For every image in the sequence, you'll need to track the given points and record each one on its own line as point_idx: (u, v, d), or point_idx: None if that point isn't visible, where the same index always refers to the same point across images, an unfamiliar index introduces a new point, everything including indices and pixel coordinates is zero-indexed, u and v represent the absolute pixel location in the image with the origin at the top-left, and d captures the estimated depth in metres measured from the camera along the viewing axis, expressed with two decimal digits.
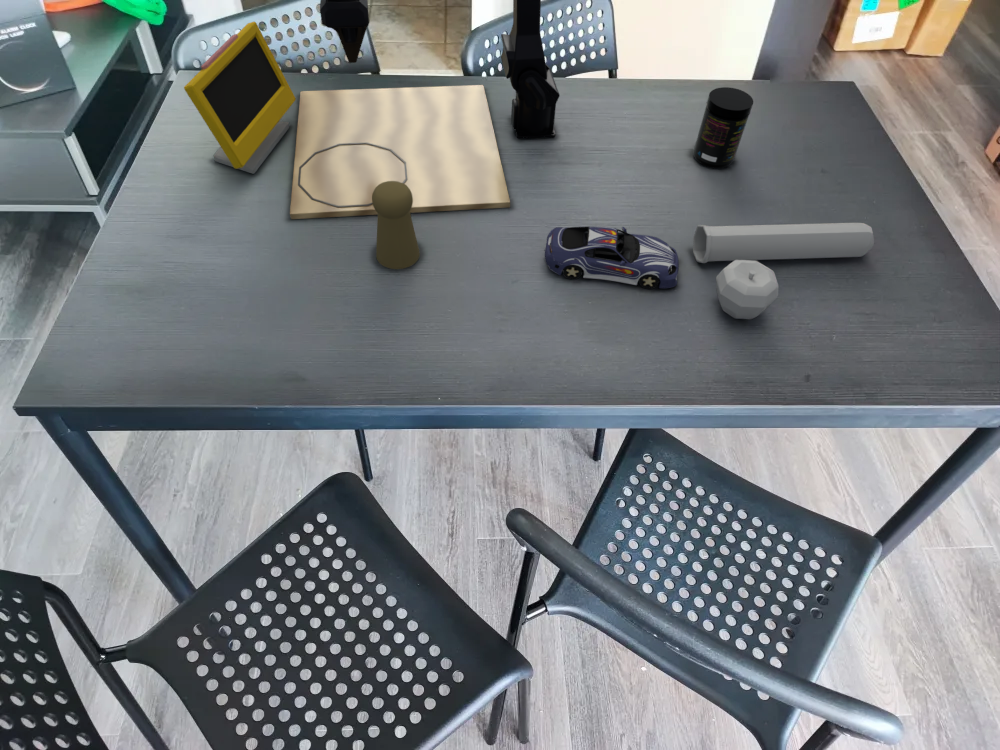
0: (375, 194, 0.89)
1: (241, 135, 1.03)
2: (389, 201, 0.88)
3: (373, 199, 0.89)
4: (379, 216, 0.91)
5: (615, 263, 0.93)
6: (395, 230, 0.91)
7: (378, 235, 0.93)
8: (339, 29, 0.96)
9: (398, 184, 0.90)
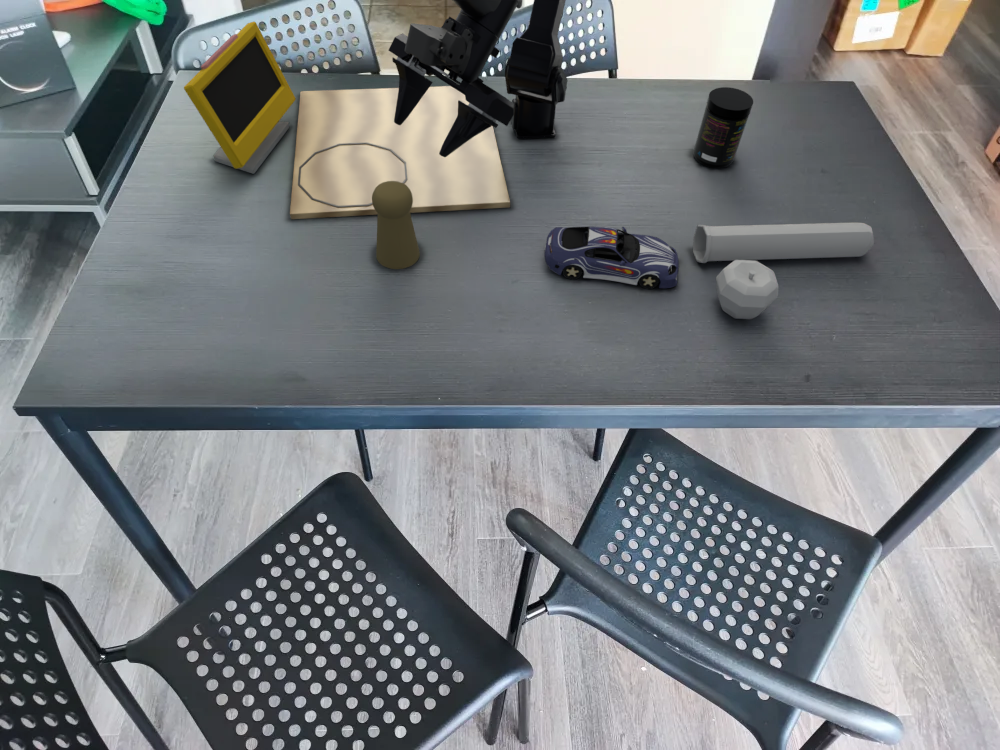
0: (375, 194, 0.89)
1: (241, 135, 1.03)
2: (389, 201, 0.88)
3: (373, 199, 0.89)
4: (379, 216, 0.91)
5: (615, 263, 0.93)
6: (395, 230, 0.91)
7: (378, 235, 0.93)
8: (468, 120, 0.87)
9: (398, 184, 0.90)
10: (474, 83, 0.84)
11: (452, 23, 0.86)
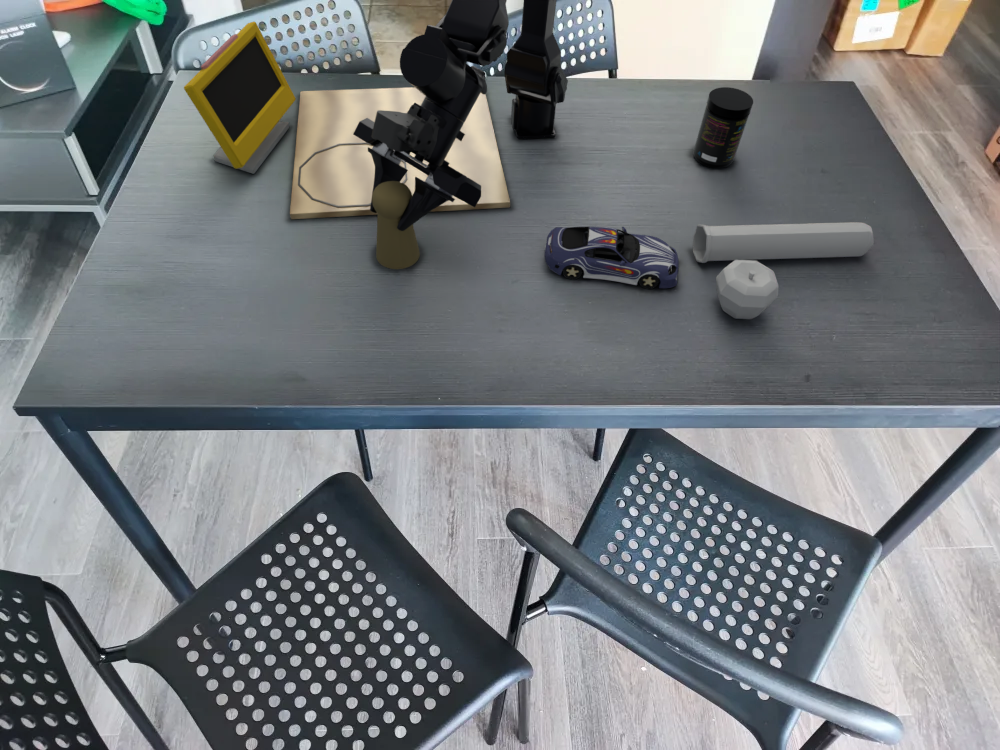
0: (375, 194, 0.89)
1: (241, 135, 1.03)
2: (388, 201, 0.88)
3: (373, 199, 0.89)
4: (379, 216, 0.91)
5: (615, 263, 0.93)
6: (395, 230, 0.91)
7: (378, 235, 0.93)
8: (425, 195, 0.88)
9: (398, 184, 0.90)
10: (442, 167, 0.85)
11: (418, 109, 0.86)
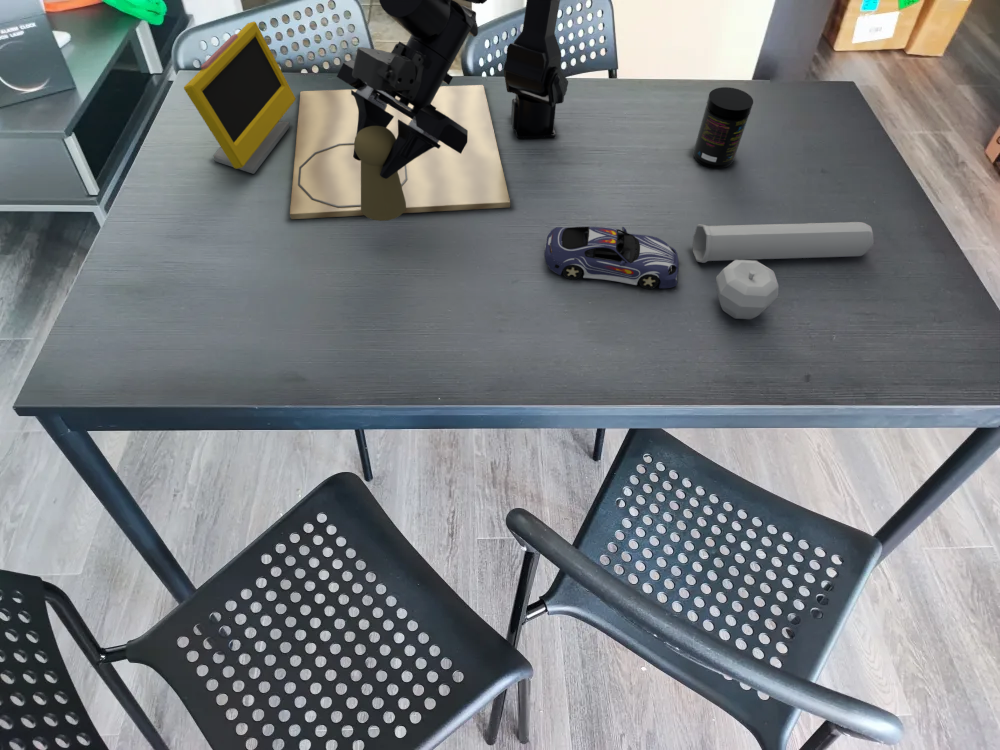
0: (357, 138, 0.85)
1: (241, 135, 1.03)
2: (370, 146, 0.84)
3: (355, 144, 0.85)
4: (362, 163, 0.87)
5: (615, 263, 0.93)
6: (378, 178, 0.87)
7: (361, 184, 0.90)
8: (408, 140, 0.84)
9: (381, 128, 0.86)
10: (425, 109, 0.81)
11: (402, 48, 0.82)
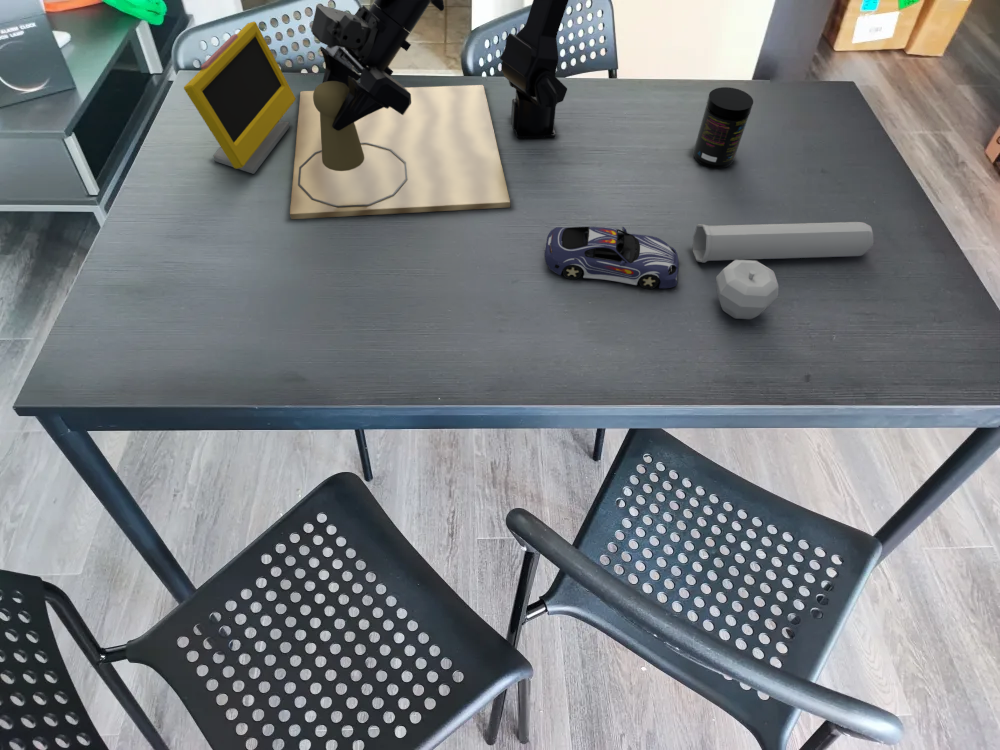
0: (315, 90, 0.93)
1: (241, 135, 1.03)
2: (323, 97, 0.92)
3: (313, 95, 0.93)
4: (320, 114, 0.95)
5: (615, 263, 0.93)
6: (332, 129, 0.95)
7: (321, 134, 0.98)
8: (357, 96, 0.91)
9: (339, 84, 0.93)
10: (370, 68, 0.87)
11: (363, 11, 0.89)
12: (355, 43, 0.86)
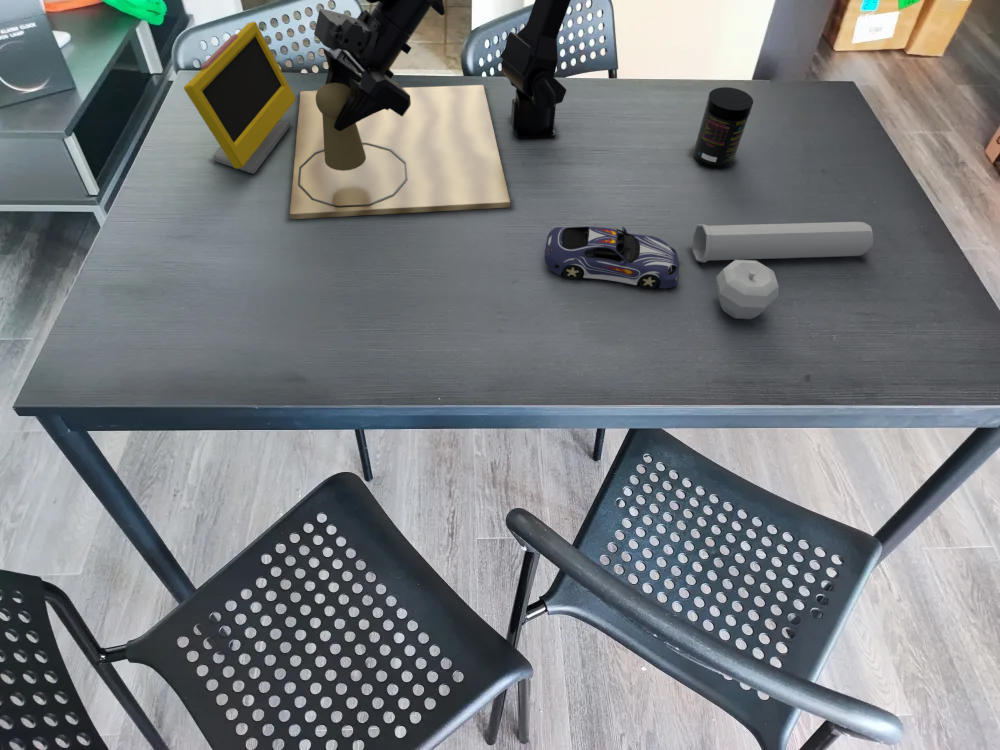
0: (318, 91, 0.95)
1: (241, 135, 1.03)
2: (325, 99, 0.94)
3: (316, 96, 0.96)
4: (322, 114, 0.98)
5: (615, 263, 0.93)
6: (334, 130, 0.98)
7: (323, 134, 1.00)
8: (358, 97, 0.93)
9: (341, 85, 0.96)
10: (370, 71, 0.90)
11: (365, 15, 0.92)
12: (356, 46, 0.88)
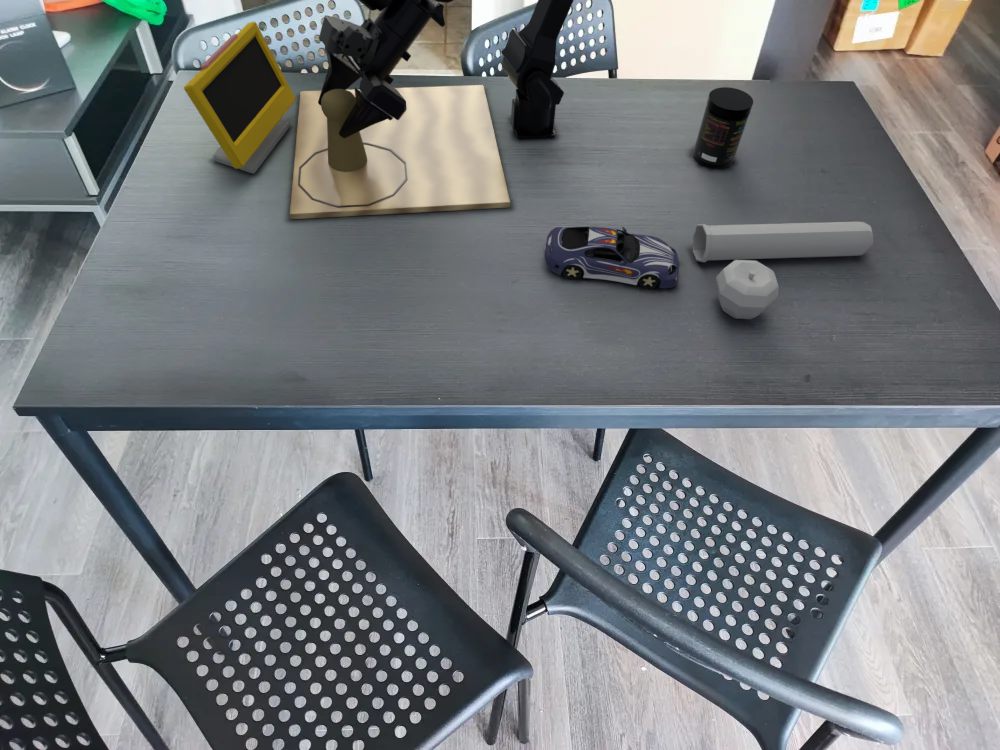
0: (323, 96, 1.01)
1: (241, 135, 1.03)
2: (330, 103, 1.00)
3: (321, 101, 1.02)
4: (327, 118, 1.03)
5: (615, 263, 0.93)
6: (337, 133, 1.03)
7: None
8: (362, 107, 0.97)
9: (345, 92, 1.01)
10: (369, 75, 0.95)
11: (368, 23, 0.97)
12: (356, 52, 0.93)
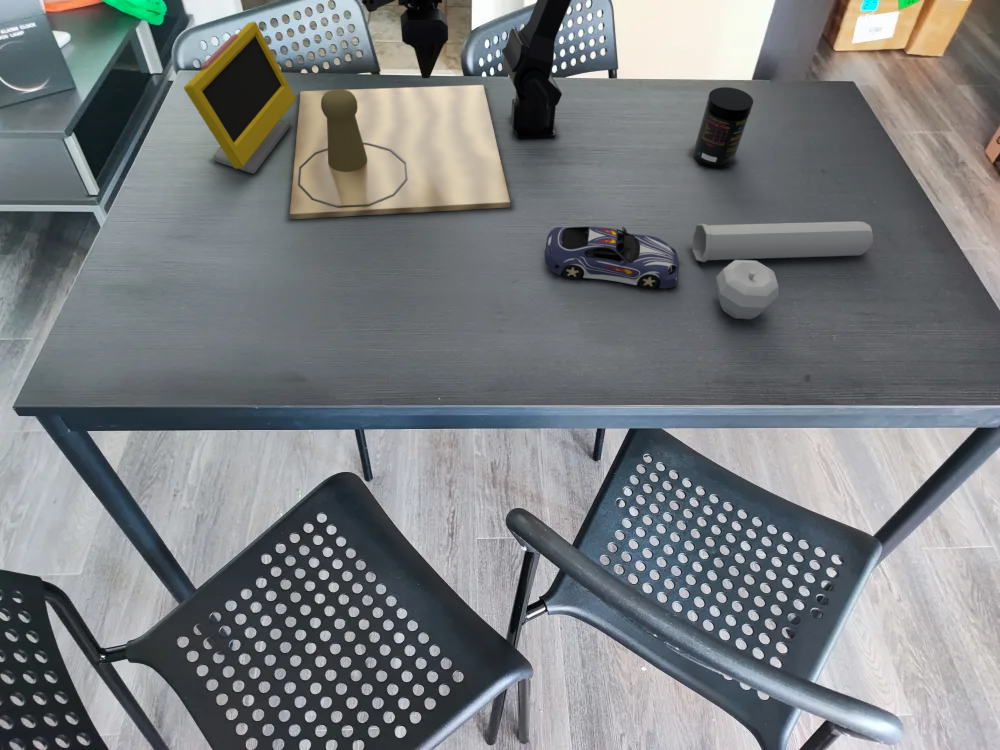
0: (323, 96, 1.01)
1: (241, 135, 1.03)
2: (330, 103, 1.00)
3: (321, 101, 1.02)
4: (327, 118, 1.03)
5: (615, 263, 0.93)
6: (337, 133, 1.03)
7: None
8: (416, 46, 0.97)
9: (345, 92, 1.01)
10: (402, 15, 0.94)
11: None
12: (382, 0, 0.94)
